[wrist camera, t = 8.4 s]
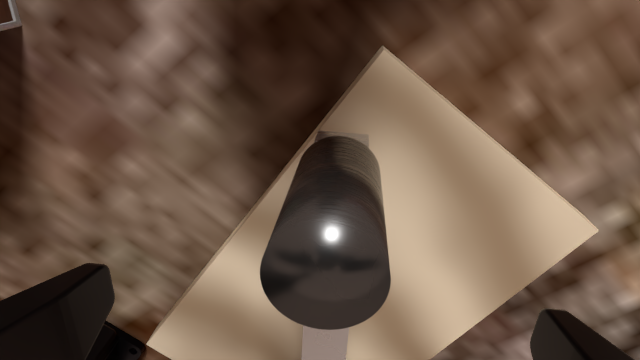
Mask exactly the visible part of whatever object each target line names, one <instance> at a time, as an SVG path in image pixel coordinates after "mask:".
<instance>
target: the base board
mask: <svg viewBox="0 0 640 360" xmlns="http://www.w3.org/2000/svg"><path fill="white" fill-rule="evenodd" d="M318 130H320V131H332V132H344V133H355V134H367V135H368V136H369V149H370V150H371V151H372V152H373V154H374V155H375V157H376V159H377V161H378V163H379V167H380V175H381V185H382V195H383V205H384V215H385V225H386V235H387V245H388V255H389V265H390V275H391V285H390V290H389V294H388V296H387V299H386V301H385V302H384V304H383V305H382V307H381V308H380V309H379V310H378V311H377V312H376V313H375V314H374V315H373V316H372V317H370V318H369V319H367V320H366V321H364V322H362V323H360V324H358V325H355V326H352V327H349V334H348V343H347V352H346V360H430V359H431V358H432V357H434V356H435V355H436V354H437V353H439V352H440V351H441V350H443V349H444V348H445V347H447V346H448V345H449V344H451V343H452V342H453V341H455V340H456V339H457V338H458V337H460V336H461V335H462V334H464V333H465V332H466V331H468V330H469V329H470V328H472V327H473V326H474V325H476V324H477V323H478V322H480V321H481V320H482V319H483V318H485V317H486V316H487V315H489V314H490V313H491V312H493V311H494V310H495V309H497V308H498V307H499V306H501V305H502V304H503V303H505V302H506V301H507V300H508V299H510V298H511V297H512V296H514V295H515V294H516V293H518V292H519V291H520V290H522V289H523V288H524V287H526V286H527V285H528V284H529V283H531V282H532V281H533V280H535V279H536V278H537V277H539V276H540V275H541V274H543V273H544V272H545V271H547V270H548V269H549V268H551V267H552V266H553V265H554V264H556V263H557V262H558V261H560V260H561V259H562V258H564V257H565V256H566V255H568V254H569V253H570V252H572V251H573V250H574V249H575V248H577V247H578V246H579V245H581V244H582V243H583V242H585V241H586V240H587V239H589V238H590V237H591V236H593V235H594V234H595V233H597V232H598V231H599V230H598V229H597V228H596V227H595V226H594V225H593V224H592V223H591V222H590V221H589V220H588V219H587V218H586V217H585V216H584V215H583V214H582V213H581V212H579V211H578V210H577V209H576V208H575V207H573V206H572V205H571V204H570V203H569V202H568V201H566V200H565V199H564V198H563V197H562V196H560V195H559V194H558V193H557V192H556V191H554V190H553V189H552V188H551V187H550V186H549V185H547V184H546V183H545V182H544V181H543V180H541V179H540V178H539V177H538V176H537V175H536V174H534V173H533V172H532V171H531V170H530V169H528V168H527V167H526V166H525V165H524V164H522V163H521V162H520V161H519V160H518V159H517V158H515V157H514V156H513V155H512V154H511V153H509V152H508V151H507V150H506V149H505V148H503V147H502V146H501V145H500V144H499V143H498V142H496V141H495V140H494V139H493V138H492V137H490V136H489V135H488V134H487V133H486V132H484V131H483V130H482V129H481V128H480V127H479V126H477V125H476V124H475V123H474V122H473V121H471V120H470V119H469V118H468V117H467V116H466V115H464V114H463V113H462V112H461V111H460V110H458V109H457V108H456V107H455V106H454V105H452V104H451V103H450V102H449V101H448V100H447V99H445V98H444V97H443V96H442V95H441V94H439V93H438V92H437V91H436V90H435V89H433V88H432V87H431V86H430V85H429V84H428V83H426V82H425V81H424V80H423V79H422V78H420V77H419V76H418V75H417V74H416V73H415V72H413V71H412V70H411V69H410V68H409V67H407V66H406V65H405V64H404V63H403V62H401V61H400V60H399V59H398V58H397V57H396V56H394V55H393V54H392V53H391V52H390V51H388V50H387V49H386V48H385V47H384V46H381V48H380V49H379V50H378V51H377V53H376V54H375V55H374V56H373V58H372V59H371V60H370V61H369V63H368V64H367V65H366V66H365V68H364V69H363V70H362V71H361V73H360V74H359V75H358V76H357V78H356V79H355V80H354V81H353V83H352V84H351V85H350V86H349V88H348V89H347V90H346V91H345V93H344V94H343V95H342V96H341V97H340V99H339V100H338V101H337V102H336V104H335V105H334V106H333V107H332V109H331V110H330V111H329V112H328V114H327V115H326V116H325V117H324V119H323V120H322V121H321V122H320V124H319V125H318V126H317V127H316V129H315V130H314V131H313V132H312V134H311V135H310V136H309V137H308V139H307V140H306V141H305V142H304V144H303V145H302V146H301V147H300V149H299V150H298V151H297V152H296V154H295V155H294V156H293V157H292V159H291V160H290V161H289V162H288V164H287V165H286V166H285V167H284V169H283V170H282V171H281V172H280V174H279V175H278V176H277V177H276V179H275V180H274V181H273V182H272V184H271V185H270V186H269V187H268V189H267V190H266V191H265V192H264V194H263V195H262V196H261V197H260V199H259V200H258V201H257V202H256V204H255V205H254V206H253V207H252V209H251V210H250V211H249V212H248V214H247V215H246V216H245V217H244V219H243V220H242V221H241V222H240V224H239V225H238V226H237V227H236V229H235V230H234V231H233V232H232V234H231V235H230V236H229V237H228V239H227V240H226V241H225V242H224V244H223V245H222V246H221V247H220V249H219V250H218V251H217V252H216V254H215V255H214V256H213V257H212V259H211V260H210V261H209V262H208V264H207V265H206V266H205V267H204V269H203V270H202V271H201V272H200V274H199V275H198V276H197V277H196V279H195V280H194V281H193V282H192V284H191V285H190V286H189V287H188V289H187V290H186V291H185V292H184V294H183V295H182V296H181V297H180V298H179V300H178V301H177V302H176V303H175V305H174V306H173V307H172V308H171V310H170V311H169V312H168V313H167V315H166V316H165V317H164V318H163V320H162V321H161V322H160V323H159V325H158V326H157V328H156V329H155V331H154V333H153V334H152V336H151V337H150V339H149V341H148V342H147V344H146V345H148V346H150V347H151V348H153V349H155V350H156V351H158V352H160V353H161V354H163V355H165V356H167V357H168V358H170V359H172V360H301V357H302V338H303V325H301V324H299V323H296V322H294V321H292V320H290V319H289V318H287V317H286V316H284V315H283V314H282V313H280V312H279V311H278V310H277V309H276V308H275V307H274V306H273V305H272V304H271V302H270V301H269V300H268V298H267V296H266V294H265V293H264V290H263V288H262V284H261V280H260V265H261V261H262V258H263V255H264V252H265V250H266V247H267V245H268V242H269V239H270V237H271V234H272V232H273V229H274V226H275V224H276V221H277V219H278V216H279V213H280V211H281V208H282V206H283V203H284V200H285V198H286V195H287V193H288V190H289V187H290V185H291V182H292V180H293V177H294V174H295V172H296V169H297V167H298V164H299V162H300V159H301V157H302V155H303V154H304V152H305V151H306V150H307V149H308V148H309V147H310V146H311V145H312V144H313V143H314V141H315V138H316V135H317V132H318Z"/></svg>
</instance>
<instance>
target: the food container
mask: <svg viewBox="0 0 640 360" xmlns="http://www.w3.org/2000/svg"><path fill="white" fill-rule="evenodd" d="M20 26H22V24H21V21H20V17H19V13H18V9H17V6H16V2H15V0H0V31H3V30H7V29H12V28H16V27H20Z"/></svg>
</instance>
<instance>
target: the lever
mask: <svg viewBox="0 0 640 360" xmlns="http://www.w3.org/2000/svg"><path fill="white" fill-rule="evenodd" d="M260 280H261V284H262V288H263V290H264V293H265V294H266V296H267V298H268V300H269V301H270V302H271V304H272V305H273V306H274V307H275V308H276V309H277V310H278V311H279V312H280V313H282V314H283V315H284V316H286V317H287V318H289V319H290V320H292V321H294V322H296V323H299V324H301V325H303V338H302V357H301V360H346V352H347V343H348V334H349V327H352V326H355V325H358V324H360V323H362V322H364V321H366V320H367V319H369V318H370V317H372V316H373V315H374V314H375V313H376V312H377V311H378V310H379V309H380V308H381V307H382V305H383V304H384V302H385V301H386V299H387V296H388V294H389V290H390V285H391V275H390V265H389V255H388V245H387V235H386V225H385V215H384V205H383V195H382V185H381V175H380V167H379V163H378V161H377V159H376V157H375V155H374V154H373V152H372V151H371V150H370V149H369V136H368V135H367V134H355V133H344V132H332V131H320V130H318V132H317V135H316V138H315V141H314V143H313V144H312V145H311V146H310V147H309V148H308V149H307V150H306V151H305V152H304V154H303V155H302V157H301V159H300V162H299V164H298V167H297V169H296V172H295V174H294V177H293V180H292V182H291V185H290V187H289V190H288V193H287V195H286V198H285V200H284V203H283V206H282V208H281V211H280V213H279V216H278V219H277V221H276V224H275V226H274V229H273V232H272V234H271V237H270V239H269V242H268V245H267V247H266V250H265V252H264V255H263V258H262V261H261V265H260Z"/></svg>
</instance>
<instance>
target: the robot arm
mask: <svg viewBox="0 0 640 360" xmlns="http://www.w3.org/2000/svg"><path fill="white" fill-rule="evenodd" d="M114 299H115V295H114V289H113V285H112V280H111V275H110V271H109V268H108V267H107V266H106V265H104V264H95V263H86V264H83V265H81V266H79V267H77V268H74V269H72V270H70V271H67V272H65V273H63V274H61V275H58V276H56V277H54V278H52V279H49V280H47V281H45V282H42V283H40V284H38V285H36V286H33V287H31V288H29V289H27V290H24V291H22V292H20V293H17V294H15V295H13V296H11V297H8V298H6V299H4V300H2V301H0V360H137V359H138V358H139V357H140V355H141V354H142V352H143V351H144V345H143V344H142V343H141V342H140V341H138V340H136V339H135V338H133V337H131V336H130V335H128V334H126V333H125V332H123V331H121V330H120V329H118V328H116V327H114V326H113V325H111V324H109V323H108V322H106V321H105V320H106V318H107V316H108V315H109V313H110V311H111V309H112V306H113V304H114ZM530 348H531V353H532V357H533V360H634V359H633V358H631V357H630V356H629V355H627V354H626V353H624V352H623V351H622V350H620V349H619V348H617V347H616V346H615V345H613V344H612V343H611V342H609V341H608V340H606V339H605V338H604V337H602V336H601V335H599V334H598V333H597V332H595V331H594V330H592V329H591V328H590V327H588V326H587V325H586V324H584V323H583V322H581V321H580V320H579V319H577V318H576V317H574V316H573V315H572V314H570V313H569V312H567V311H565V310H562V309H552V308H544V309H542V310H541V311H540V313H539V316H538V319H537V321H536V324H535V327H534V330H533V333H532V336H531V341H530Z"/></svg>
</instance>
